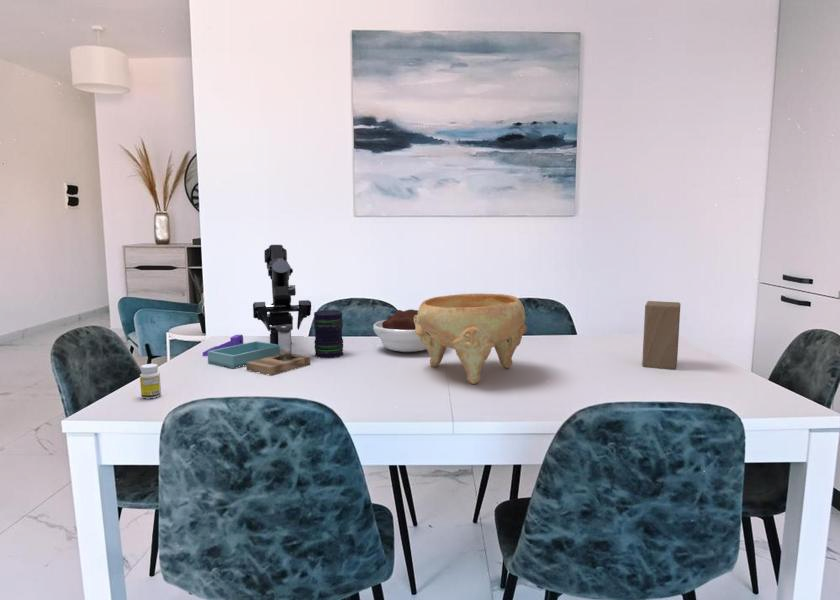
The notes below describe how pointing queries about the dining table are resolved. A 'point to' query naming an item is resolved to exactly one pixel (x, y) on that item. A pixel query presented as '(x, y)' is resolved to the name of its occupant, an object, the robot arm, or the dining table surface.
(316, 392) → the dining table surface
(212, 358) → the tray
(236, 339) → the bracket
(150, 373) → the supplement bottle
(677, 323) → the wooden block
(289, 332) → the pin
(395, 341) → the white bowl of pudding
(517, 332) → the decorative bowl
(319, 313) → the storage jar
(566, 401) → the dining table surface
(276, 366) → the block
